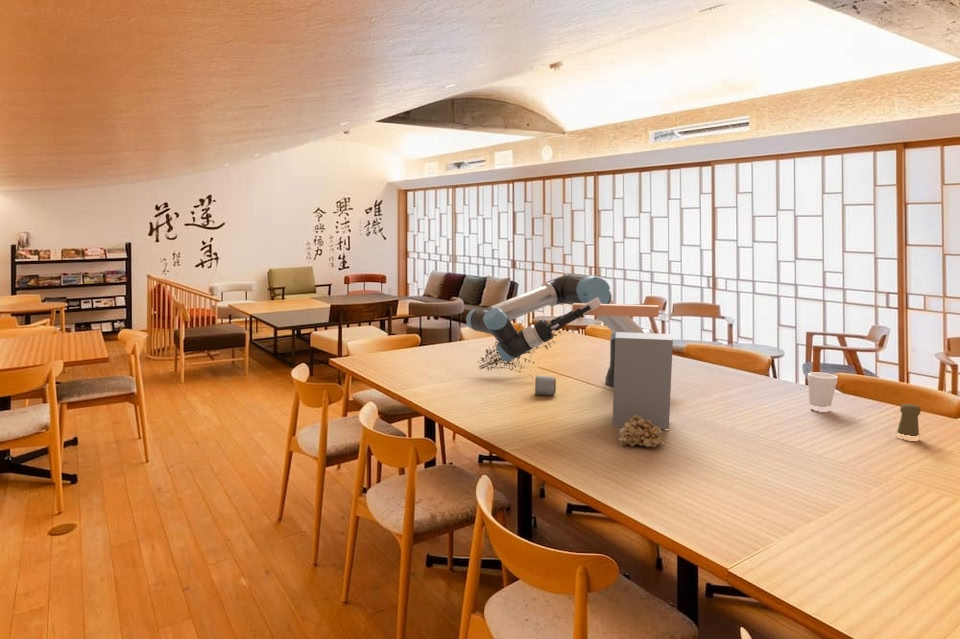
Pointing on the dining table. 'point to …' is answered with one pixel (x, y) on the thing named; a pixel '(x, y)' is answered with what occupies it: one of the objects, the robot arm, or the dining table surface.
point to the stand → (642, 378)
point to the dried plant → (510, 360)
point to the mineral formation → (640, 433)
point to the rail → (622, 310)
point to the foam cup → (821, 388)
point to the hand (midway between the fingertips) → (599, 301)
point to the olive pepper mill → (909, 420)
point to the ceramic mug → (545, 385)
